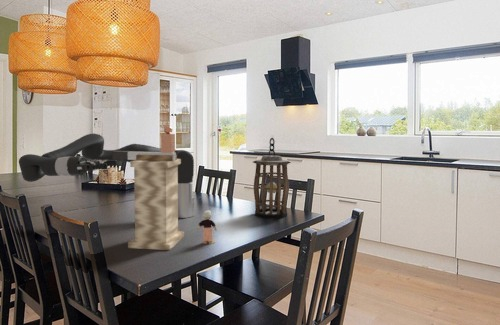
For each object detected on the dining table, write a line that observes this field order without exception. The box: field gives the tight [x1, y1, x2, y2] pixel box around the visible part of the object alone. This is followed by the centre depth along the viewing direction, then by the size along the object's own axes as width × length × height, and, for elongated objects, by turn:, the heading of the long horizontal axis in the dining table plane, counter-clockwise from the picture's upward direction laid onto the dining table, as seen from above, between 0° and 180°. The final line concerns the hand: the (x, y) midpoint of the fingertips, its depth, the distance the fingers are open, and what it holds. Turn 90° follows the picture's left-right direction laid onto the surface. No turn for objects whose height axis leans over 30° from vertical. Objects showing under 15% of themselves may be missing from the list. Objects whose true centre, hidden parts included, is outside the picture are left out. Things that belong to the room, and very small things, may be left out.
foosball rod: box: [112, 125, 176, 161], centre depth 144 cm, size 24×4×13 cm, turn 83°
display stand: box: [127, 155, 185, 251], centre depth 145 cm, size 16×18×34 cm
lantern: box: [252, 137, 292, 220], centre depth 194 cm, size 19×19×40 cm
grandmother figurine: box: [197, 210, 218, 245], centre depth 146 cm, size 8×4×13 cm, turn 92°
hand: (111, 164), depth 144 cm, fingers open, 8 cm apart
